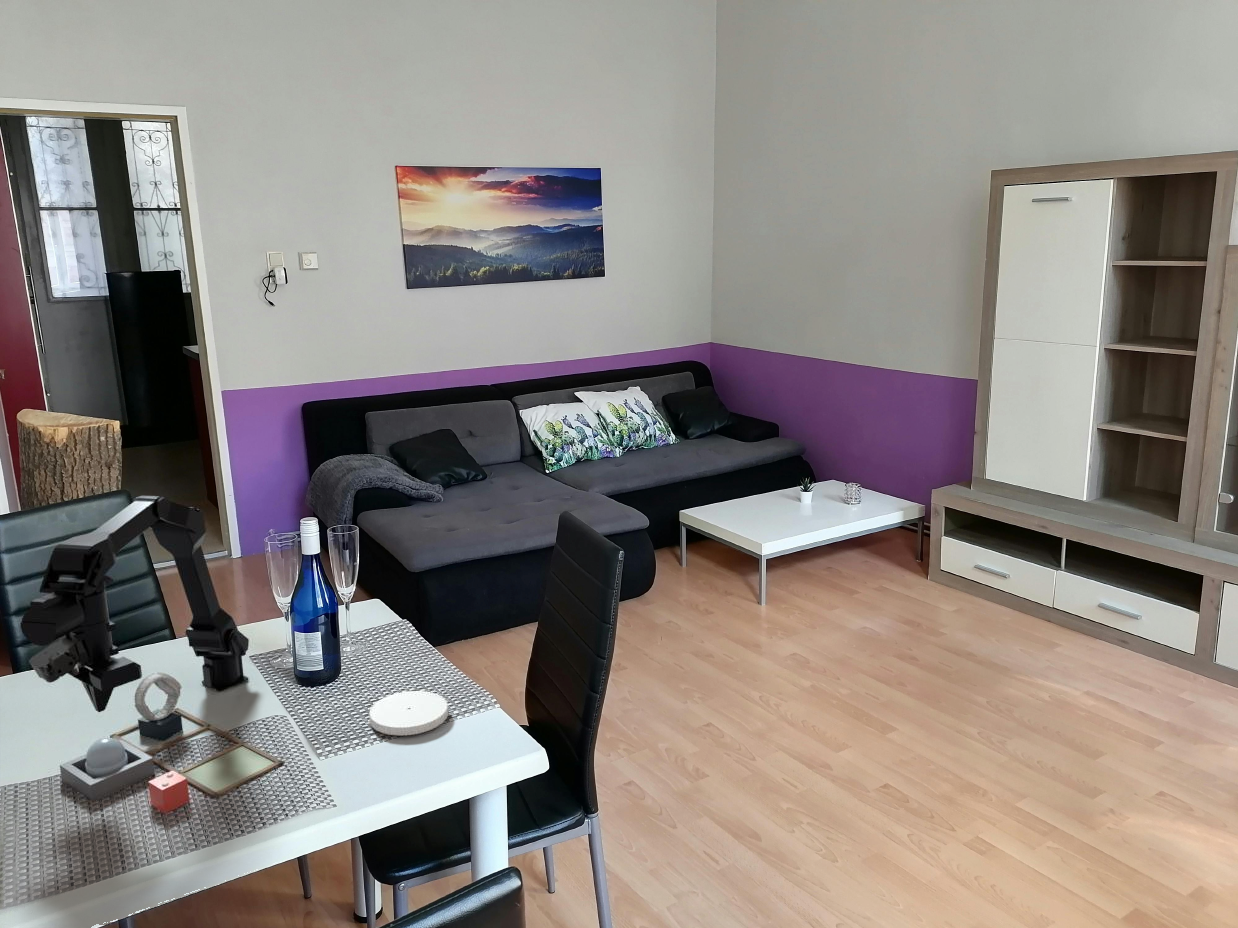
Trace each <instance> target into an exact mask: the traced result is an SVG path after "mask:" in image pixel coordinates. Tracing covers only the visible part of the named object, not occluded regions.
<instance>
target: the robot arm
mask: <svg viewBox="0 0 1238 928" xmlns="http://www.w3.org/2000/svg"><path fill="white" fill-rule="evenodd" d="M148 529H150V530H152V532H153V535H154V536H155V537H154V538H156V541H157V542H158V544H159V546H161V547H162V548H163V549H165V550H166V551H167V552H168V553H169V554H170V555H172V557H173V560H174V562H175V563H174V564H175V566H176V569H177V572H178V575H179V579H180V581H181V585H182V588H183V590H184V594H185V597H186V600H187V603H188V606H189V609H190V612H191V615H192V618H191V621H190V623H189V626H188V628H187V629H186V630H185V635H186V637H187V639H188V646H189V648H190V647H191V648H192V649H193V652H194V655H195V657H198V658H200V657H201V658H202V657H203V664H202V666H201V668H202V677H203V680H201V684H202V685H203V686H205V687H208V688H211V689H213V690H215V691H217V692H224V691H225V690H229V689H230V688H231V689H232V688H233V687H236V686H238V685H241V684H243V683H245V682H247V681H249V677H248V676H247V675H244V668H243V667H244V666H243V656H246V655H247V651H248V650H249V642H250V641H249V638H248V637H247V636H245V635H244V633H242V632H240V630H239V629H238V627H237V624H236V623H235V620H234V618H233V617H232V615H230V614H229V613H228V612H226V611H225V610H224V609H223V608H222V607H221V606H220V602H219V600H218V599H219V598H218V595H217V593H216V590H215V586H214V584H213V580H212V577H211V574H210V571H209V567H208V565H207V561H206V557H205V554H204V551H203V548H202V544H203V541H204V539H205V536H206V534H207V528H206V522H205V516H204V513H203V511H202V510H201V509H200V508H198V507H194V506H193V507H192V506H186V505H184V504H179V503H177V502H175V501H174V502H173V501H172V500H170V499H168V498H167V497H166V498H165V497H164V496H159V495H158V496H156V495H140V496H137V497H134V499H132V502H131V504H129V505H128V506H125V508H123V509H122V510H121V511H119V512H118V513H117V514H115V515H114V516H113V517H111V518H110V519H109V520H107V521H106V522H104V523H103V524H102V525H100V526H99V527H98V528H96V529H95V530H93V531H91V532H89V533H86V534H81V535H76V536H73V537H71V538H68V539H67V540H64V541H62V542H60V543H58V544H57V545H56V546H55V547H54V548H53V550H52V553H51V555H50V557H49V560H48V564H47V567H46V570H45V573H44V576H43V579H42V581H41V585H40V588H39V593H40V594H46V595H44V596H42V597H39V598H34V599H33V600H31V601H30V602H29V604H30V609H29V610H28V611H26V612H25V613H24V614H23V616H22V617H21V622H20V629H21V632H22V634H23V637H25V638H26V640H27V641H28V642H30V643H32V644H33V645H35V646H39V647H45V646H47V647H45V648H44V649H42V650H41V651H39V652H38V653H36V654H35V655H33V656H32V657H31V658H30V659H29V660H28V662H29V665H31V667H32V668H33V670H34V672H35V673H36V674H37V676H38V677H39V678H41V679H43V680H44V681H45V682H46V683H48V684H49V683H50V684H51V683H54V682H56V681H57V680H59V679H60V678H63V677H64V676H65V675H67V674H68V675H69V676H71V677H72V678H74V679H76V680H78V681H80V682H81V684H82V686H83V687H84V690H85V691H86V694H87V695H88V697H89V699H90V701H91V704H92V707H93V708H94V710H95V711H96V712H98V713H101V712H104V711H105V710H106V709H107V706H108V703H109V701H110V699H111V696H112V693H113V691H114V689H115V688H117V687H121V686H123V685H126V684H129V683H132V682H135V681H137V680H140V679H142V677H143V671H142V665H141V664H139V663H137V662H135V661H133V660H131V659H130V658H127V657H126V656H121V657H118V658H116V657H115V656H116V655H119V654H120V652H119V647H118V646H116V645H113V639H112V632H113V631H115V630H116V623H115V622H112V621H111V620H110V615H109V608H108V601H107V600H108V599H107V594H106V593H107V592H106V587H107V586H110V585H111V584H113V583H114V578H112V577H111V576H108V575H106V574H108V573H109V571H110V569H112V568H113V567H114V565H115V564H116V560H117V559H116V557H117V554H118V553H119V552H121V551H122V549H124V548H125V547H126V546H128V545H129V544H130V543H131V542H133V541H134V540H135V539H137V538H138V537H139V536H140V535H142V534H143V533H144V532H145V531H147V530H148ZM60 579H62V580H75V582H74V581H60ZM76 580H77V581H79V580H80V581H79V582H76ZM57 640H58V641H57Z"/></svg>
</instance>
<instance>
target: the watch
mask: <svg viewBox="0 0 1238 928" xmlns="http://www.w3.org/2000/svg"><path fill="white" fill-rule="evenodd" d="M153 684H154V685H155V686H156V687H157V688H158V689H159V690H161V691H163V692H164V694H165V695H166V696H167V698H166V701H165V703H164V705H163V707H162V708H156V709H154V710H152V711H151V710H150V708H149V705H147V702H146V700H145V698H146V695H147V693H148V690H149V689H150V688H151V686H152V685H153ZM181 689H182V685H181V683H180V682H179V680H177V679H176V678H174V677H173V676H171V675H170V674H167V673H165V672H157V673H156V674H155V673H151V674H149V675H146V677H144V678H143V679H142V680H141V681H140V682H139V684H138V686H137V687H136V691H135V694H134V703H135V704H134V707H135V709H136V711H137V712H138V714H139V715H140V716H141V717H140V718H139V719H137V722H138V723H137V724H138V725H139V728H138V731H139V736H140V737H144V738H147V739H152V740H156V741H161V742H166V741H167V740H169V739H170V738H172V737H173V736H176V735H178V734H179V733H180V732H182V731H183V729H184V728H183V720H182V719H183V718H182V715H181V714H178V713H174V712H172V711H173V710H174V709H176V708H177V704H178V702H179V698H180V697H181Z"/></svg>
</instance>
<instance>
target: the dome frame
mask: <svg viewBox="0 0 1238 928" xmlns="http://www.w3.org/2000/svg"><path fill="white" fill-rule="evenodd" d="M119 741H120V742H121V743H122V744H123V746H124V748H125V752H126V753H127V759H128V765H126V766H124V767H121V768H119V769H117V770H115V771H112V772H110V773H108V774H105V775H103V776H101V777H99V778H96V779H93V778H92V777H90V776H88V775H87V773H86V766H85V763H86V754H87V753H86V754H84V755H81V756H78V757H76V758H74V759H72V760H71V759H70V760H68V761H66V762H63V763H62V764H59V769H60V776H61V781H62V783H63V784H65V785H66V786H67V787H69V788H70V789H72V790H74V792H76V793H78V792H79V793H80V795H81V794H82V795H83V796H82V795H81V796H82V797H84V798H85V797H86V798H85V799H86V800H88V799H89V800H88V801H90V802H91V801H92V802H91V803H94V801H95V802H96V800H97V801H99V800H101V798H102V799H104V798H106V797H108V796H110V795H112V793H113V794H115V793H117V792H119V791H122V790H124V789H125V788H127V787H129V786H133V785H134V784H136V783H139V782H140V781H144V780H146V779H147V778H150V777H152V776H154V775H156V773H155V772H156V771H155V765H154V763H153V757H151V756H149V755H147V754H146V753H144V752H142V751H141V750H139V749H137V748H135V747H134V746H132V745H130V744H128V743H127V742H125V741H123V740H122V739H121V740H119ZM114 792H115V793H114ZM79 793H78V794H79Z"/></svg>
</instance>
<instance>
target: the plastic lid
mask: <svg viewBox="0 0 1238 928" xmlns="http://www.w3.org/2000/svg"><path fill="white" fill-rule="evenodd" d="M448 703H449V702H448V701H447V700H446V699H445V697H443V696H442V695H439V694H437V693H434V692H431V691H430V692H429V691H426V690H425V691H423V690H421V691H419V690H417V691H416V690H410V691H403V692H402V691H401V692H397V693H394V694H390V695H388V696H385V697H383V698H381V699H380V700H378V701H375V703H374V704H373V705H372V706H371V707H370V708H369V709H370V710H369V712H368V713H369V714H368V716H369V724H370V726H371V728H373V729H374V730H375V731H377V732H379V733H382V734H385V735H388V736H389V735H391V736H398V737H399V736H411V735H418V734H421V733H425V732H428V731H431V730H434V728H437V727H439V726H440V725H442V724H443V723H444V722H445V721H446V720H447V718H448V715H449V704H448Z"/></svg>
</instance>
